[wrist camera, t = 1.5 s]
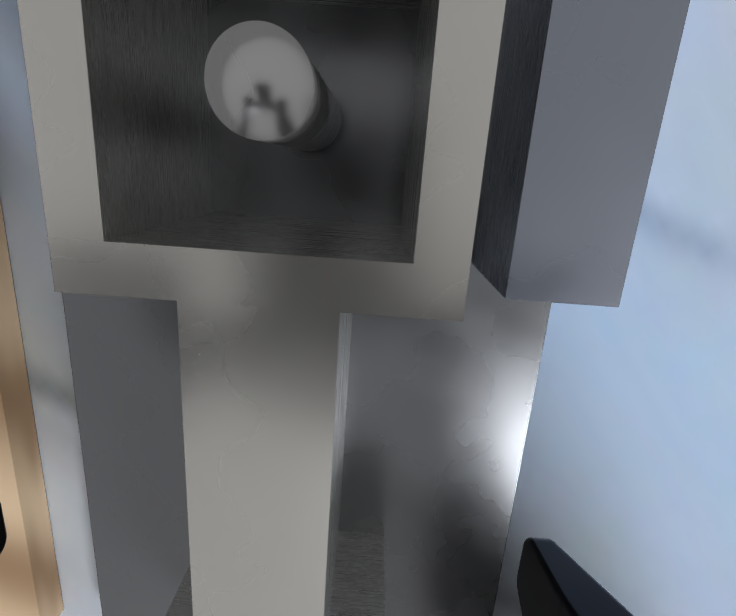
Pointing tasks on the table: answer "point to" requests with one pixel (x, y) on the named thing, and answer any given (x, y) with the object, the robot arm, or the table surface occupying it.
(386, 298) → the white open-top bracket
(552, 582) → the robot arm
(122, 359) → the plate
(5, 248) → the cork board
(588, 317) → the table surface
